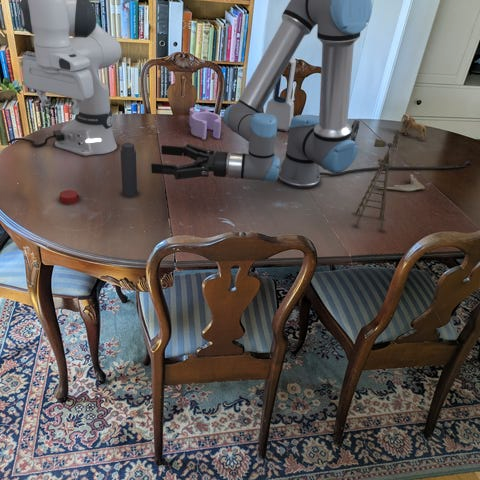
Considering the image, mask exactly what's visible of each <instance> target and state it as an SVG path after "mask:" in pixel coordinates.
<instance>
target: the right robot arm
mask: <svg viewBox="0 0 480 480" xmlns="http://www.w3.org/2000/svg"><path fill="white" fill-rule="evenodd" d="M372 11H373V1H372V0H289V2H288V3H287V5H286V7H285V8H284V11H283V12H282V14H281V22H280V24H279V27H278V28H277V30H276V33H275V34H274V35H273V38H272V39H271V41H270V43H269V44H268V46H267V48H266V50H265V51H264V53H263V56H262V57H261V59H260V61H259V62H258V64H257V66H256V67H255V70H254V72H253V73H252V75H251V77H250V78H249V80H248V82H247V84H246V85H245V87H244V89H243V91H242V92H241V94H240V97H239V98H238V100H237V101H236V103H232V104H230V105H229V106H227V107H226V108H225V110H224V111H223V116H222V119H223V120H222V121H223V122H224V124H225V126H226V127H228V129H230V130H231V132H233V133H235V134H236V135H238V136H240V137H241V138H242V139H244V140H245V141H247V142H248V148H247V149H248V150H247V153H245V152H233V151H230V152H228V151H221V150H220V151H219V150H217V151H214V150H212V149H206V148H203V147H199V146H196V145H193V144H190V143H187V144H186V145H184V146H178V145H177V146H175V145H165V144H162V145H161V146H160V149H161V155H165V156H176V157H177V156H178V157H183V158H184V157H187V158H188V159H189V158H190V159H191V160H194V161H193V162H191V163H187V164H182V165H178V166H177V165H176V164H165V163H164V164H163V163H154V162H153V163H151V164H150V168H151V169H150V170H151V174H157V175H158V174H159V175H168V176H173V177H174V179H175V181H176V180H186V179H195V178H208V177H210V172H212V174H213V176H214V177H215V178H226V177H227V178H230V179H235V180H238V179H242V180H251V181H261V182H276V181H278V182H280V183H281V184H283V185H285V186H288V187H291V188H295V189H312V188H315V187H318V185H320V180H321V176H330V177H338V176H342V175H346V174H350V173H356V172H365V171H378V167H379V166H376V167H375V166H374V167H364V168H356V169H355V168H354V169H349V170H347V169H348V168H350V166H351V165H352V164H353V163H354V161H355V160H356V158H357V155H358V151H359V148H358V145H357V143H356V141H355V142H354V141H352V140H351V132H352V128H351V127H352V125H350V124H349V123H348V119H349V109H350V108H349V106H350V95H351V81H352V71H353V70H352V69H353V58H354V48H355V47H354V46H355V43H356V42H357V40H359V39H360V38H361V32H362V31H363V30H365V28H366V27H367V23H369V22H370V20H371V17H372ZM316 26H317V27H316ZM314 27H316V29H317V31H316V37H317V40H319V42H321V47H322V48H321V68H320V69H321V70H320V92H319V112H318V113H319V115H316V114H297V115H294V116H293V118H292V120H291V124H290V127H289V130H288V137H287V141H286V142H287V143H286V149H285V156H284V158H283V161H282V162H281V159H280V157H279V156H277V155H275V145H276V140H277V134H278V130H277V119H276V117H275V116H273V115H271V114H268V113H265V112H262V110H263V108H264V107H265V105H266V103H267V102H268V101H269V98H270V96H271V94H273V90H274V87H275V86H276V84H277V82H278V81H279V79H280V77H281V78H282V76H281V75H283V74H284V72H285V70H286V68H287V67H288V65H289V64H288V63H289V62H290V60H291V58H293V56H294V55H295V53H296V51H297V49H298V48H299V46H300V45H301V42H302V41H303V39H304V38H305V36H308V35H311V32H312V31H313V29H314ZM469 162H470V161H469V160H468V161H465V162H464V163H463V164H467V163H468V164H467V165H469V166H472V162H471V163H469ZM280 164H281V165H280ZM463 164H462V165H463ZM454 166H456V167H454ZM320 167H321V168H322V169H323V170H325V171H328V172H321V171H320ZM464 167H466V165H463V166H458V165H446V166H443V165H442V166H396V167H393V166H392V167H390V166H388V170H446V169H460V168H464ZM383 169H386V166H385V167H383Z"/></svg>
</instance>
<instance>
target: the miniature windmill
mask: <svg viewBox="0 0 480 480" xmlns="http://www.w3.org/2000/svg"><path fill="white" fill-rule="evenodd" d="M399 135H400V130H399V129H397V130H395V133H394V136H393V140H392V143H391V142H388V143H387V142H386V141H385V140H381V139H378V138H375V141H374V145H373V147H374V148H385V147H386V146H387V147H388V150H387V152H386V153H385V155H384V157H383V159H382V158H378V159H377V162H378V165H379V166H377V167H378V170H376V172H375V173H374V176H373V178H372V179H371V181H370V184H369V185H368V186H367V190H366V192H364V196H363V197H362V198H361V202H360V203H359V204H358V207H357V209H356V211H355V213H354V215H358V217H357V218H358V219H357V221H356V223H355V227H358V225H359V224H360V221H361V219H362V218H367V219H374V220H378V221H379V220H380V221H381V222H380V223H381V225H380V231H381V232H383V231H384V221H386V219H385V209H386V204H387V199H386V198H387V190H388V189H387V187H388V176H389V173H390V172H389V169H388V167H397V164H396V161H394V160H393V158H394V155H395V154H396V153H397V152H396V149H397V148H398V144H399V139H400V136H399ZM383 167H386V169H383ZM383 171H385V172H383ZM381 175H384V180H379V178H380V176H381ZM377 182H379V183H383V186H384V187H380V186H381V185H380V186H378V185H376V184H377ZM375 188H377V189H379V188H383V189H382V193H380V192H374V190H375ZM372 194H373V195H380V196H381V200H376V199H375V200H374V199H370V198H371V196H372ZM367 195H368V196H367ZM364 201H365V203H364ZM369 202H373V203H379V204H380V207H379V206H373V205H368V203H369ZM361 207H362V210H361ZM366 208H372V209H378V210H380V211H379V217H374V216H369V215H363V214H364V213H365V210H366Z"/></svg>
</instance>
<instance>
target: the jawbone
mask: <svg viewBox="0 0 480 480" xmlns="http://www.w3.org/2000/svg"><path fill="white" fill-rule="evenodd" d="M409 179H410V184H409V183H408V184H393V186H387V189H386V190H391V191H400V192H409V193H410V192H415V191H419V190H425V189H426V187H425V185H424V184H422V183H421V182H419V181H418V179H417V177H415V176H414V174H413V173H410V174H409ZM377 186H380V187H384V185H380V184H378V185H377ZM378 189H380V190H383V188H378Z"/></svg>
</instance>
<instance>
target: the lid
mask: <svg viewBox="0 0 480 480" xmlns="http://www.w3.org/2000/svg"><path fill="white" fill-rule="evenodd" d="M58 195H59V196H58V198H59V202H60V203H62V204H65V205H71V204H75V203H77V202H78V201H79V193H78V191H77V190H74V189H65V190H62V191H60V192H59V194H58Z"/></svg>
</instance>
